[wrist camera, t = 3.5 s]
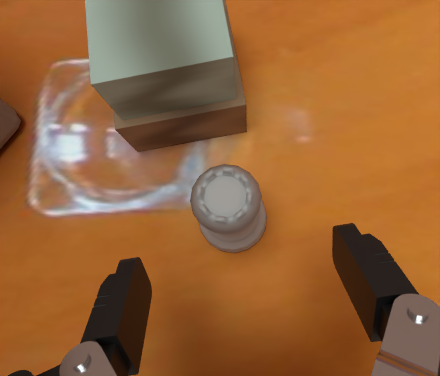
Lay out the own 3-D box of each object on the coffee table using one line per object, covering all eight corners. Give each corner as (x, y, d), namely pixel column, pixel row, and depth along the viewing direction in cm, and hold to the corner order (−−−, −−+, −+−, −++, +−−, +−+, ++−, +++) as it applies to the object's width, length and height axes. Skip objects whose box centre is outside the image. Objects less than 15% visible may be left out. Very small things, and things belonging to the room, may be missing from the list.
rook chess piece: (190, 239, 21) (157, 226, 14) (213, 178, 22) (193, 133, 14) (254, 262, 21) (257, 262, 13) (275, 198, 22) (289, 162, 14)
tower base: (137, 151, 23) (81, 95, 15) (127, 56, 25) (73, -36, 17) (246, 131, 23) (245, 63, 15) (228, 36, 25) (218, -67, 17)
